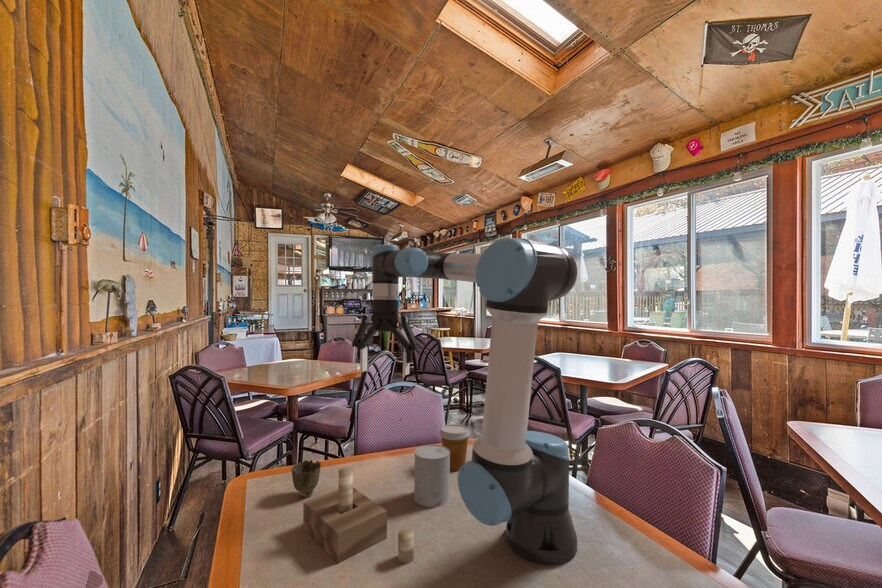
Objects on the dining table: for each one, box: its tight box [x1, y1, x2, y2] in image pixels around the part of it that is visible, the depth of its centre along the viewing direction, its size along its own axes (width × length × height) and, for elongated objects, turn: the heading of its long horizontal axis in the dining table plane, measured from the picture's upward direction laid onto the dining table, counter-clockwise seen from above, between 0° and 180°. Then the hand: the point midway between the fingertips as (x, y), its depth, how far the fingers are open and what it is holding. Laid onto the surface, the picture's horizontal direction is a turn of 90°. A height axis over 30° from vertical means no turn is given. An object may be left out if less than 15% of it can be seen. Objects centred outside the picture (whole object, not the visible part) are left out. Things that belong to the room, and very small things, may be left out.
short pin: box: [397, 528, 415, 565], centre depth 78 cm, size 3×3×5 cm
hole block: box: [302, 487, 388, 564], centre depth 87 cm, size 16×12×6 cm
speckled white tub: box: [413, 444, 451, 508], centre depth 102 cm, size 10×10×12 cm
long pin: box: [337, 467, 354, 514], centre depth 87 cm, size 3×3×14 cm
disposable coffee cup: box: [439, 423, 471, 472], centre depth 121 cm, size 10×10×12 cm
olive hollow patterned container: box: [291, 459, 322, 498], centre depth 103 cm, size 8×7×8 cm
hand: (384, 372), depth 110 cm, fingers open, 13 cm apart
